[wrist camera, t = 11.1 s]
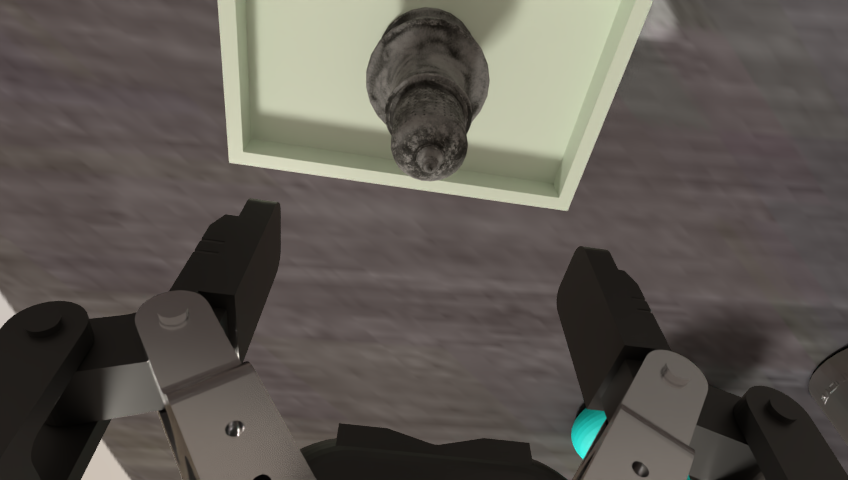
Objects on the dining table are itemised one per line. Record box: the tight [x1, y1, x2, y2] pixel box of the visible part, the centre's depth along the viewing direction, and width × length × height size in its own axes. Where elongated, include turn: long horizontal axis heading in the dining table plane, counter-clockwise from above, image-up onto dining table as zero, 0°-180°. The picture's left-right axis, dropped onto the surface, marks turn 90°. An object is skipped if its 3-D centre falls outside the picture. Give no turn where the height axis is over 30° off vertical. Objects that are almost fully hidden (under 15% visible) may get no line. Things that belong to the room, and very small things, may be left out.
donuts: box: [571, 408, 690, 480], centre depth 43 cm, size 10×10×10 cm
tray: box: [218, 0, 653, 211], centre depth 26 cm, size 20×14×2 cm
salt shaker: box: [366, 7, 490, 181], centre depth 22 cm, size 6×6×12 cm
